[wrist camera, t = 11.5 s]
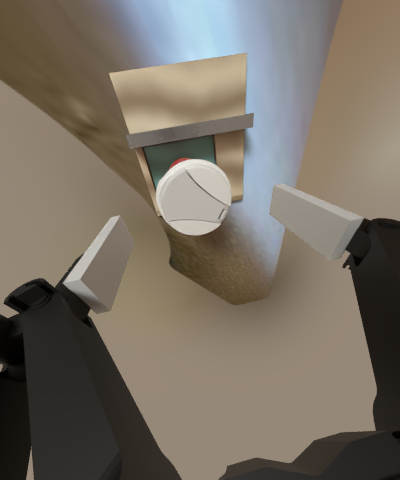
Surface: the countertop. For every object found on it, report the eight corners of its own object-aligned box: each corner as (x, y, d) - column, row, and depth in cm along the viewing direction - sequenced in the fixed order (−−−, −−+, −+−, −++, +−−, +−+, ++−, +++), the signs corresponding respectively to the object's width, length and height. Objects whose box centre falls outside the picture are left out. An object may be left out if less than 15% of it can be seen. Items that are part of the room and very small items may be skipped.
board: (111, 75, 19) (109, 73, 18) (244, 55, 20) (246, 52, 19) (158, 214, 31) (158, 216, 30) (240, 197, 32) (242, 199, 31)
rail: (130, 135, 22) (125, 135, 20) (244, 115, 23) (253, 113, 21) (134, 147, 23) (130, 148, 21) (244, 128, 24) (252, 127, 22)
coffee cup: (213, 162, 27) (251, 182, 15) (196, 203, 31) (214, 246, 18) (169, 140, 24) (169, 142, 12) (156, 188, 28) (146, 228, 15)
